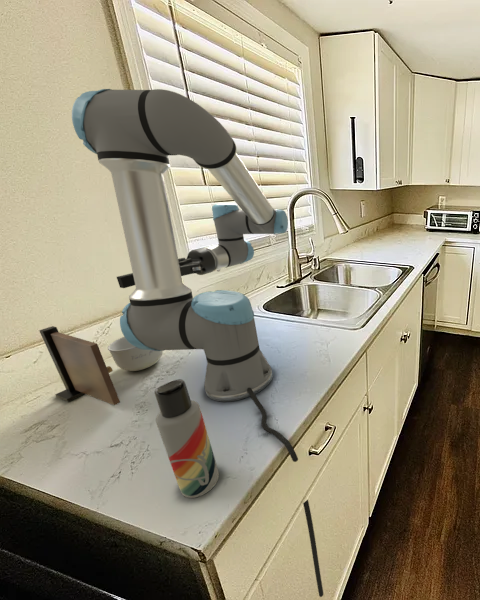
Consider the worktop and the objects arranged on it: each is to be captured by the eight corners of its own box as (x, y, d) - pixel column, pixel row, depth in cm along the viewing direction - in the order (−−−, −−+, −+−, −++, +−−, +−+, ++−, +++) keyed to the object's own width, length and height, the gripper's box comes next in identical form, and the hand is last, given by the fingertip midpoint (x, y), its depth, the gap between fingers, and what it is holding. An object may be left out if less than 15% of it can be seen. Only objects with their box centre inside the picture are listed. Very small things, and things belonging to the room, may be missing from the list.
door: (75, 390, 78) (50, 333, 72) (87, 384, 80) (63, 329, 74) (114, 405, 72) (90, 346, 67) (126, 398, 74) (103, 340, 69)
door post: (56, 397, 77) (25, 333, 71) (86, 383, 82) (60, 322, 76) (68, 402, 75) (38, 337, 69) (98, 387, 81) (73, 325, 74)
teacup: (140, 378, 84) (130, 351, 81) (106, 373, 86) (95, 347, 83) (183, 351, 96) (176, 326, 94) (153, 347, 99) (145, 324, 96)
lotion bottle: (193, 504, 52) (158, 401, 44) (173, 489, 54) (137, 389, 47) (226, 477, 56) (199, 380, 49) (206, 464, 59) (178, 370, 52)
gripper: (225, 274, 97) (142, 300, 77) (195, 270, 102) (108, 294, 82) (220, 249, 95) (132, 270, 74) (189, 246, 99) (98, 265, 79)
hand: (120, 282), depth 78 cm, fingers closed
